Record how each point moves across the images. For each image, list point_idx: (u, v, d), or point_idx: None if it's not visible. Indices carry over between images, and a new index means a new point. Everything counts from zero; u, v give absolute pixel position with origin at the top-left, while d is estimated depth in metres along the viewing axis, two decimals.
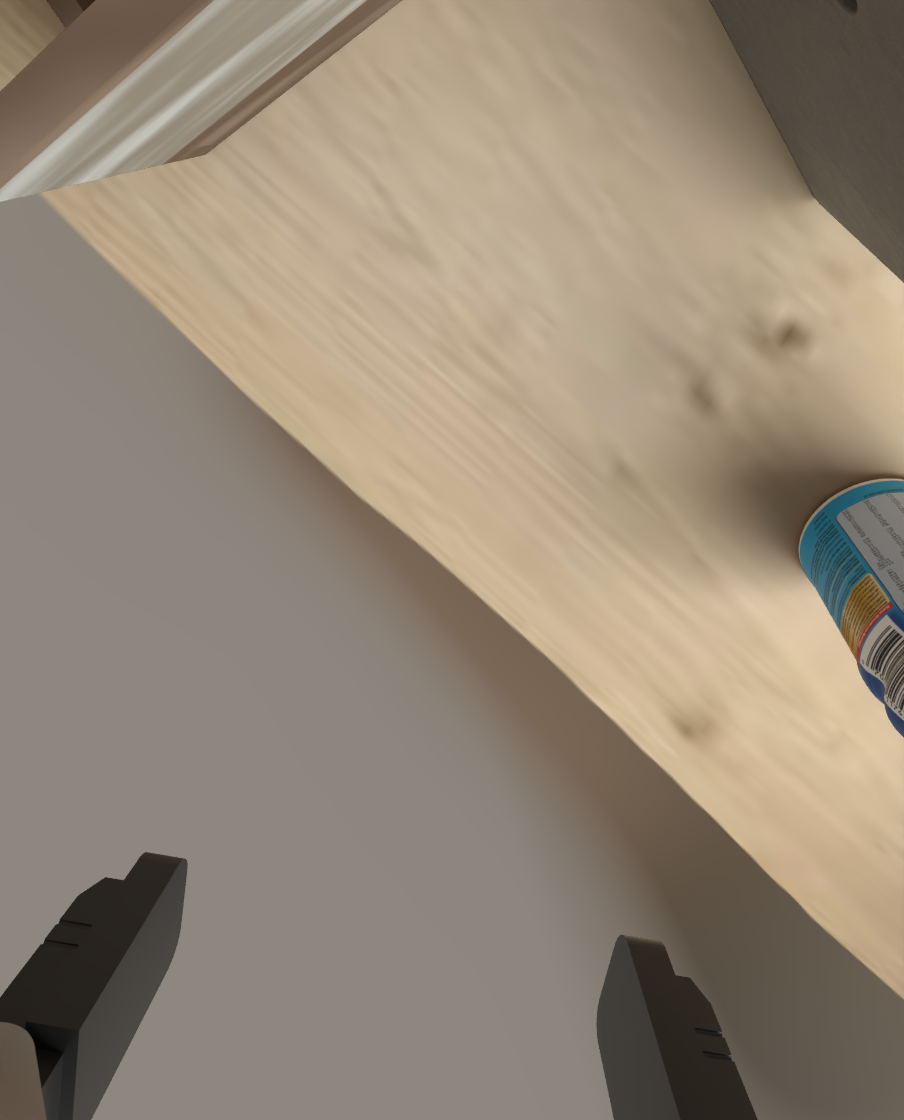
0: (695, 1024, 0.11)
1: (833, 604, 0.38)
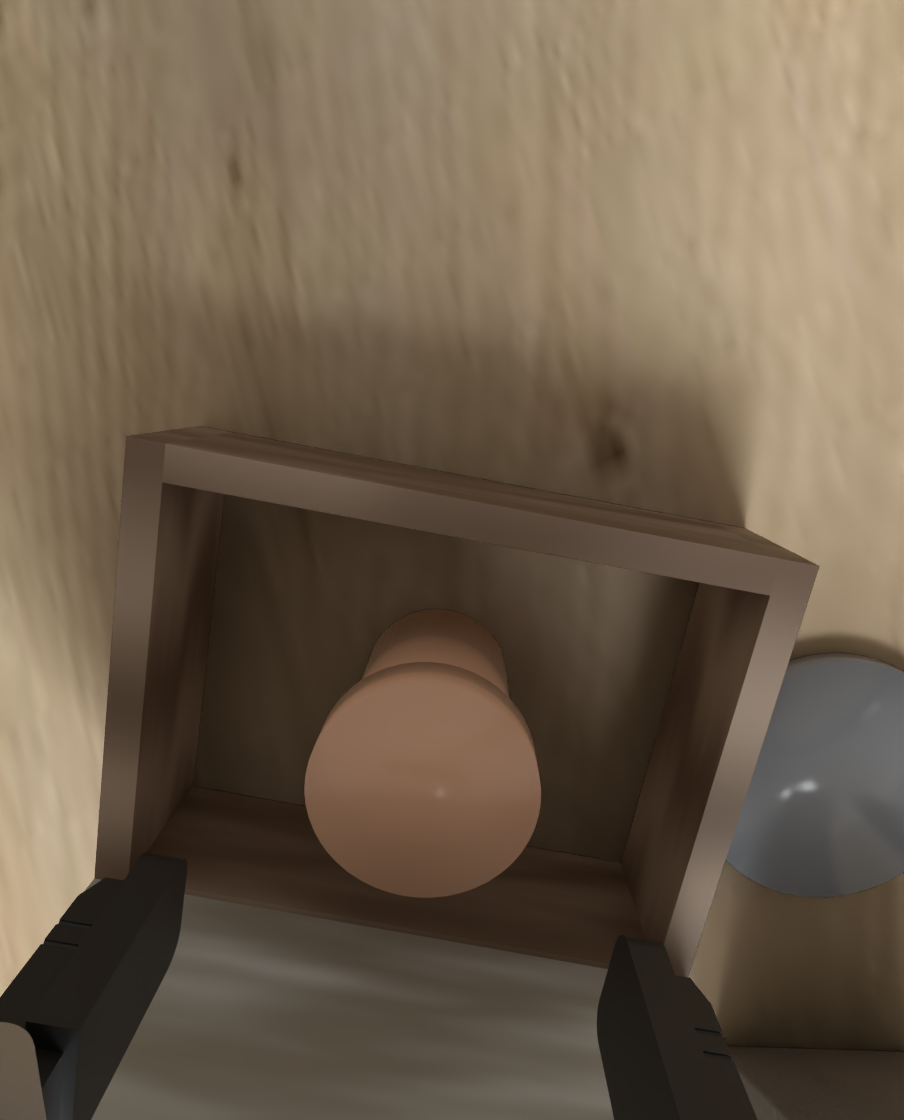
0: (695, 1024, 0.11)
1: None
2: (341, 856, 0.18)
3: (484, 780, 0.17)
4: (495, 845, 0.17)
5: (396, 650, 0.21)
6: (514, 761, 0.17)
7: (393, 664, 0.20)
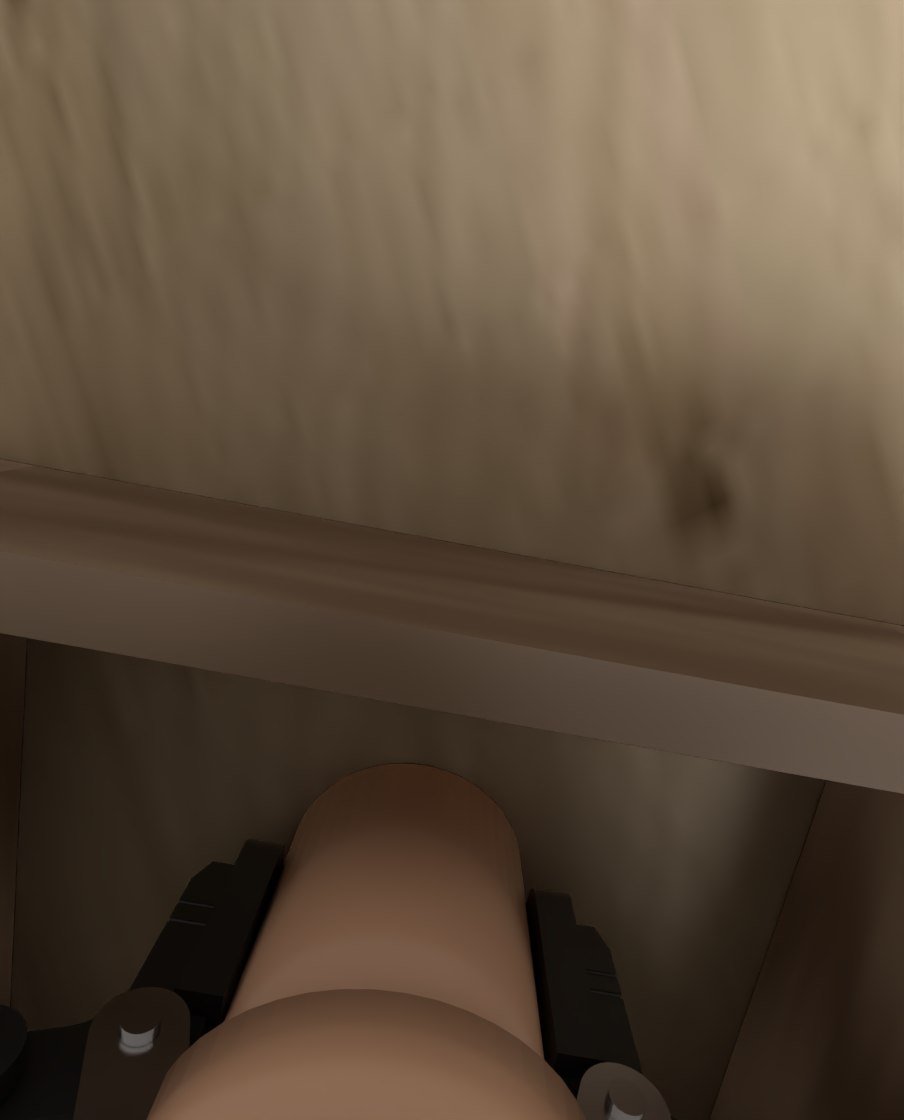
0: (591, 967, 0.12)
1: None
2: None
3: None
4: None
5: (321, 882, 0.11)
6: None
7: (307, 938, 0.10)
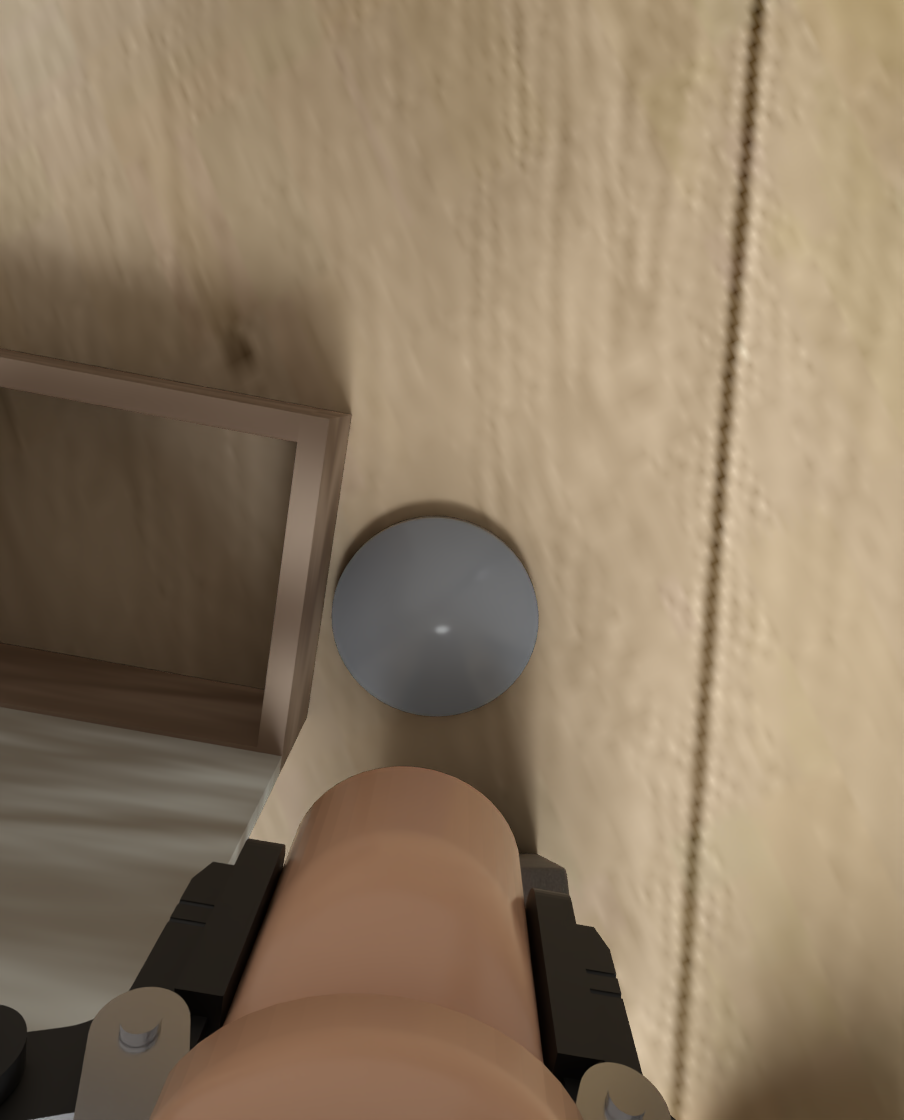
0: (591, 966, 0.12)
1: None
2: None
3: None
4: None
5: (321, 886, 0.11)
6: None
7: (306, 942, 0.10)
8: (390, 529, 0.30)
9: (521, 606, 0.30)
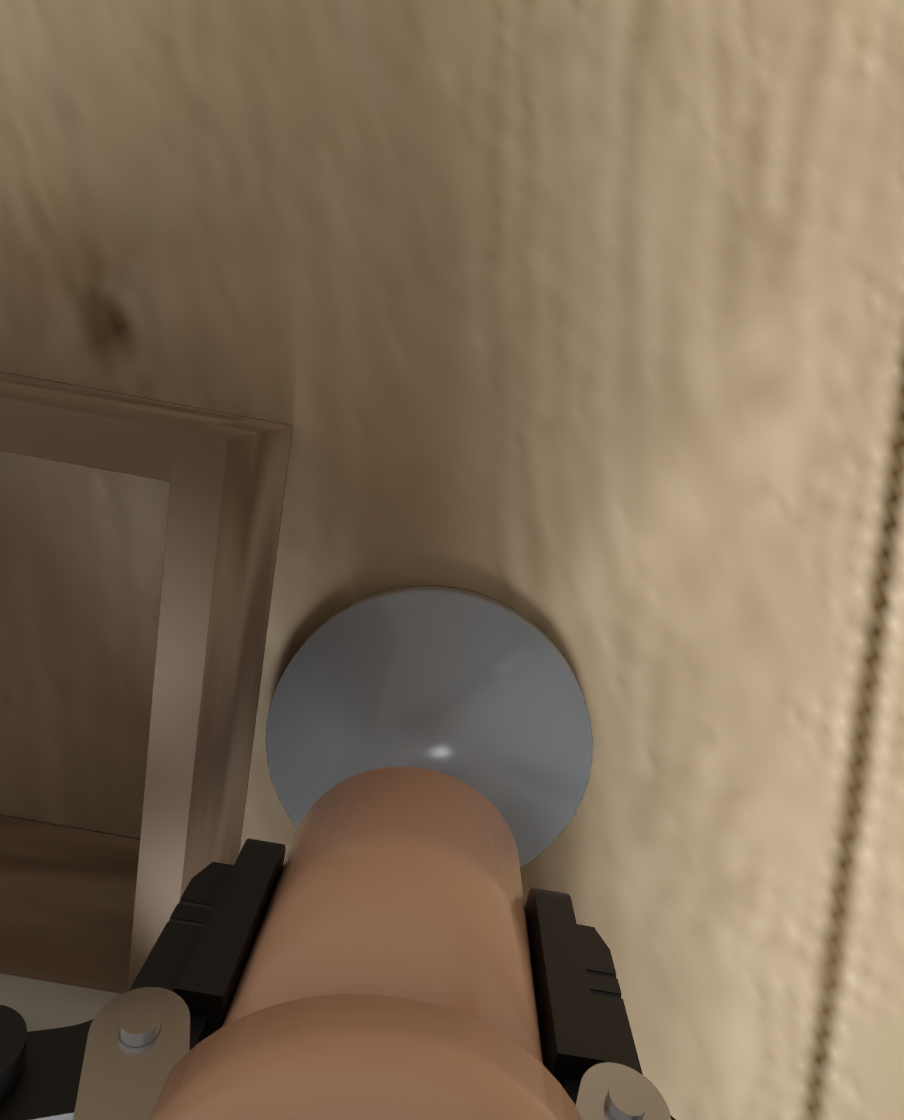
0: (592, 966, 0.12)
1: None
2: None
3: None
4: None
5: (320, 886, 0.11)
6: None
7: (305, 942, 0.10)
8: (356, 610, 0.18)
9: (565, 729, 0.19)
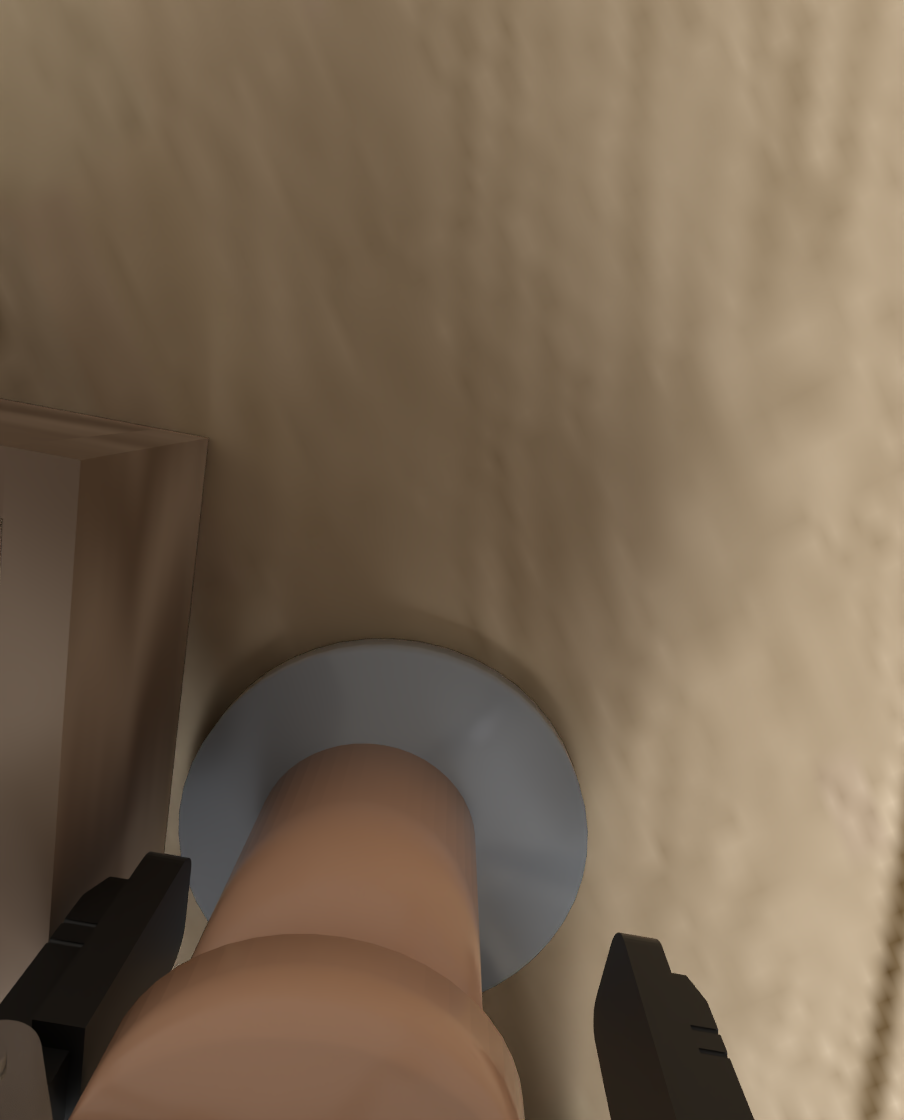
0: (691, 1021, 0.11)
1: None
2: None
3: None
4: None
5: (278, 849, 0.12)
6: None
7: (260, 896, 0.11)
8: (289, 671, 0.15)
9: (553, 817, 0.15)
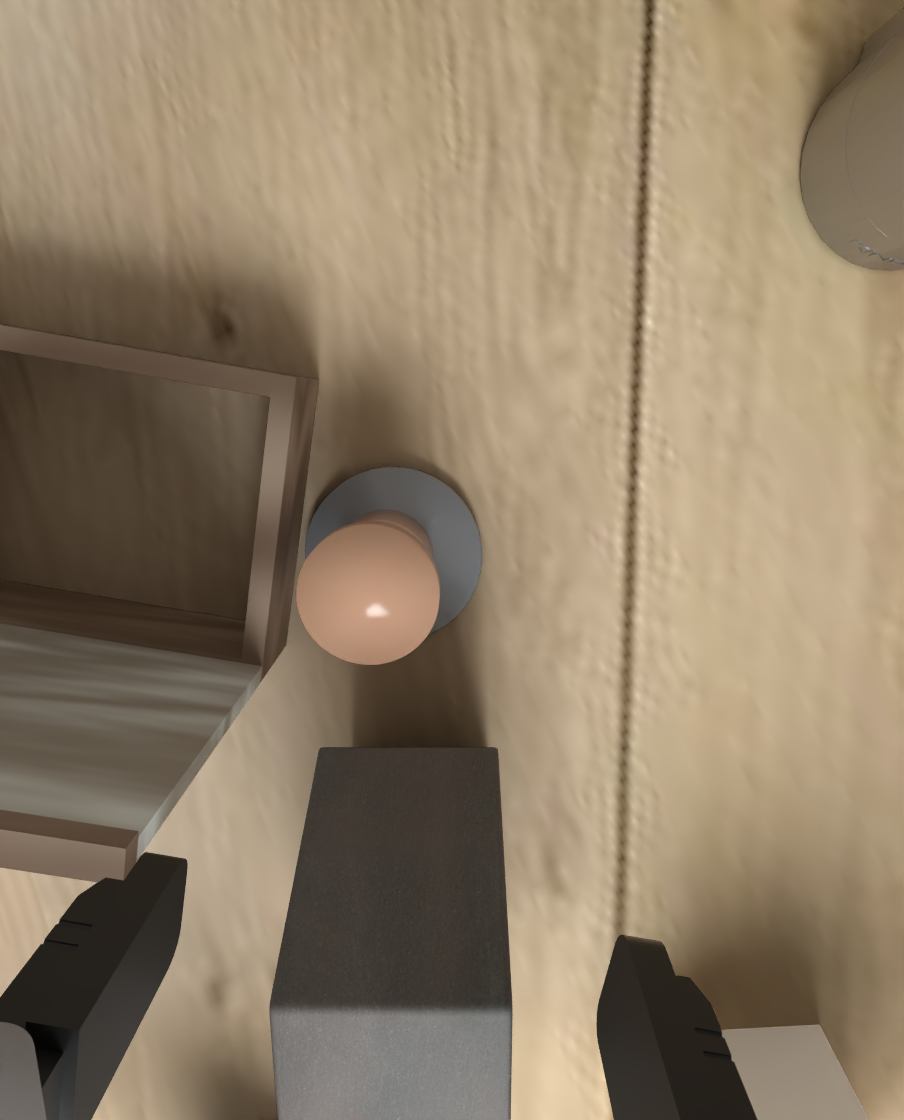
0: (695, 1024, 0.11)
1: None
2: (319, 638, 0.29)
3: (404, 586, 0.28)
4: (413, 628, 0.29)
5: None
6: (422, 573, 0.28)
7: None
8: (353, 477, 0.35)
9: (467, 542, 0.36)
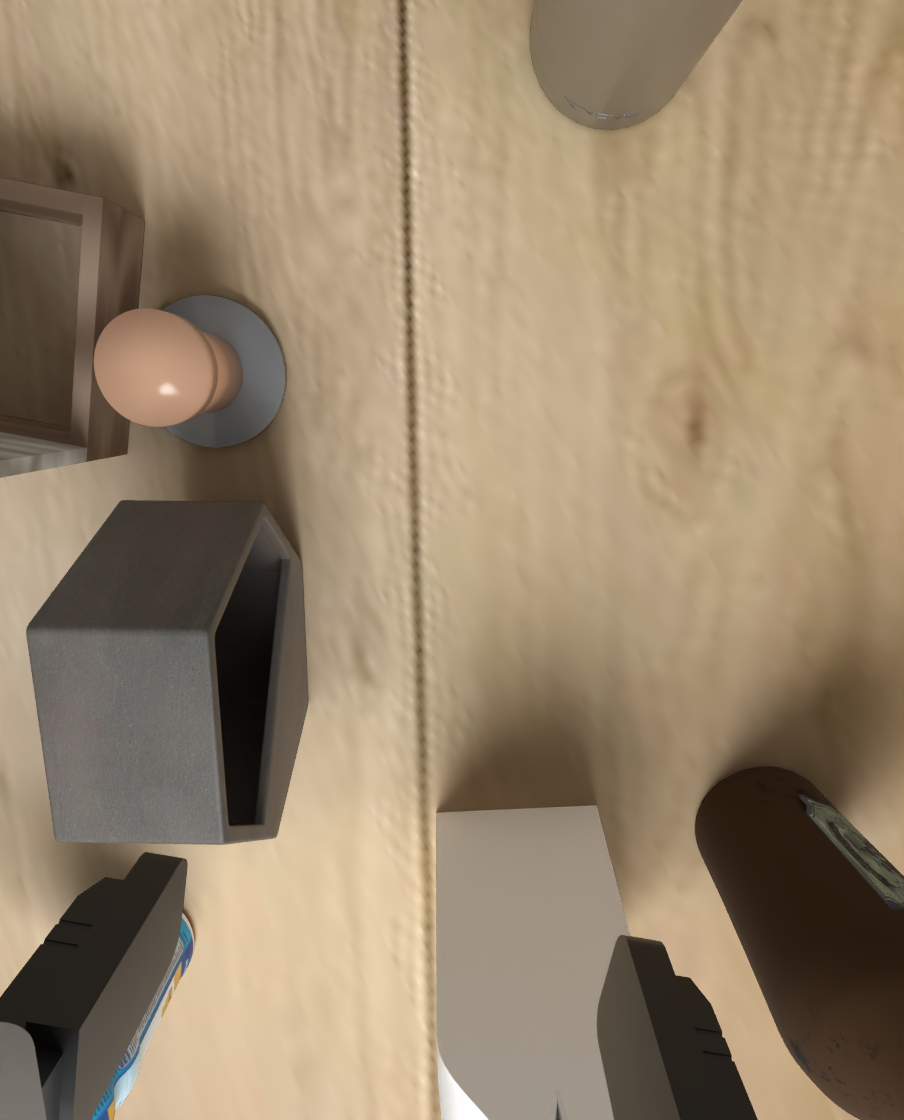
0: (695, 1024, 0.11)
1: None
2: (114, 403, 0.36)
3: (179, 359, 0.36)
4: (189, 395, 0.36)
5: None
6: (193, 348, 0.35)
7: None
8: (173, 302, 0.42)
9: (270, 361, 0.43)
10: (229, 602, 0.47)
